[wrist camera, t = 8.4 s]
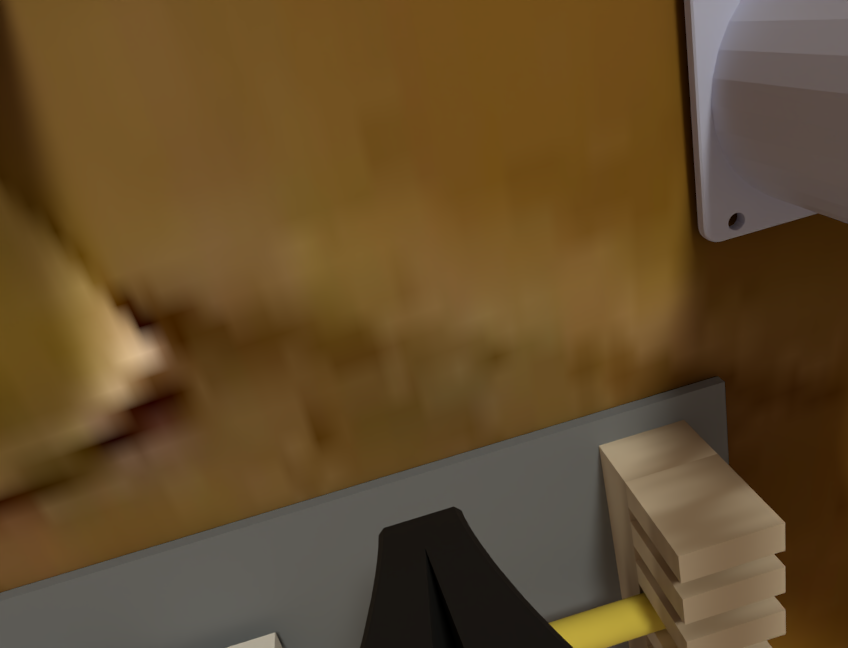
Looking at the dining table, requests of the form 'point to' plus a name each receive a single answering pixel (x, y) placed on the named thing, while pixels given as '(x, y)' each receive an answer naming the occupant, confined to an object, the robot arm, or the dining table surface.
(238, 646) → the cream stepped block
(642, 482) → the cable comb
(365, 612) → the cable mat
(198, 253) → the dining table surface
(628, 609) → the yellow rod
